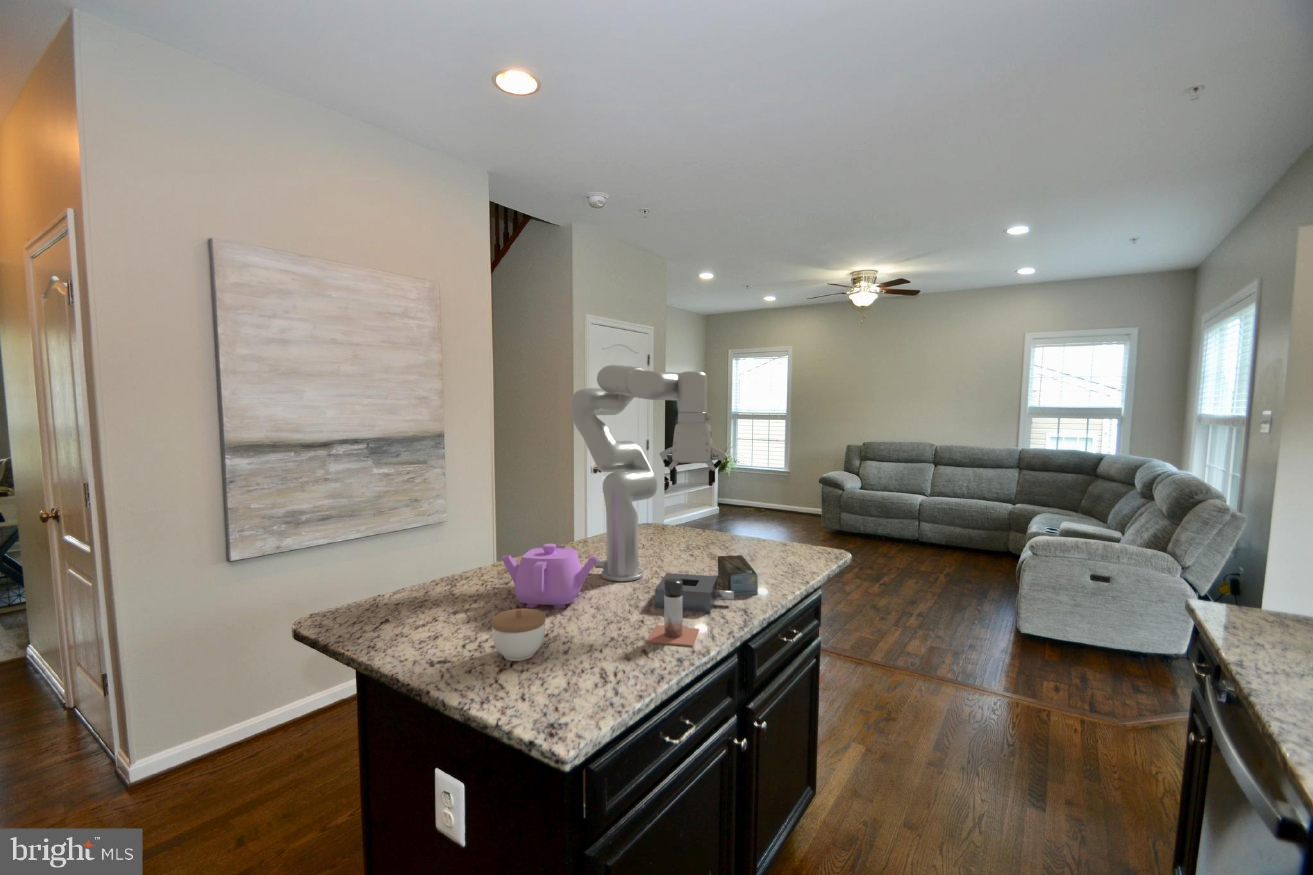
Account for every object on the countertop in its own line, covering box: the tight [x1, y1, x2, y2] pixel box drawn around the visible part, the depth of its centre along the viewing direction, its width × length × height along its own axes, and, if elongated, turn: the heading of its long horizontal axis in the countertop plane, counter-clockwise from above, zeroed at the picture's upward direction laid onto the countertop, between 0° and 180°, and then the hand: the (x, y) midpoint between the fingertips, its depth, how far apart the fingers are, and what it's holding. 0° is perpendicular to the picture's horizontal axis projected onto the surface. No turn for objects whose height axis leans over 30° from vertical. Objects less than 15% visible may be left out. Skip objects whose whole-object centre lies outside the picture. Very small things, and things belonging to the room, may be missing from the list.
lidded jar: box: [490, 608, 546, 662], centre depth 115 cm, size 11×11×9 cm
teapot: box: [501, 543, 598, 610], centre depth 147 cm, size 19×18×15 cm
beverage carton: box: [717, 554, 759, 596], centre depth 161 cm, size 8×19×7 cm, turn 4°
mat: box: [646, 624, 700, 648], centre depth 125 cm, size 10×9×1 cm
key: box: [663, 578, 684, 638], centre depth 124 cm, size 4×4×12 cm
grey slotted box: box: [654, 572, 735, 614], centre depth 146 cm, size 19×14×5 cm
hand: (692, 484), depth 147 cm, fingers open, 9 cm apart
